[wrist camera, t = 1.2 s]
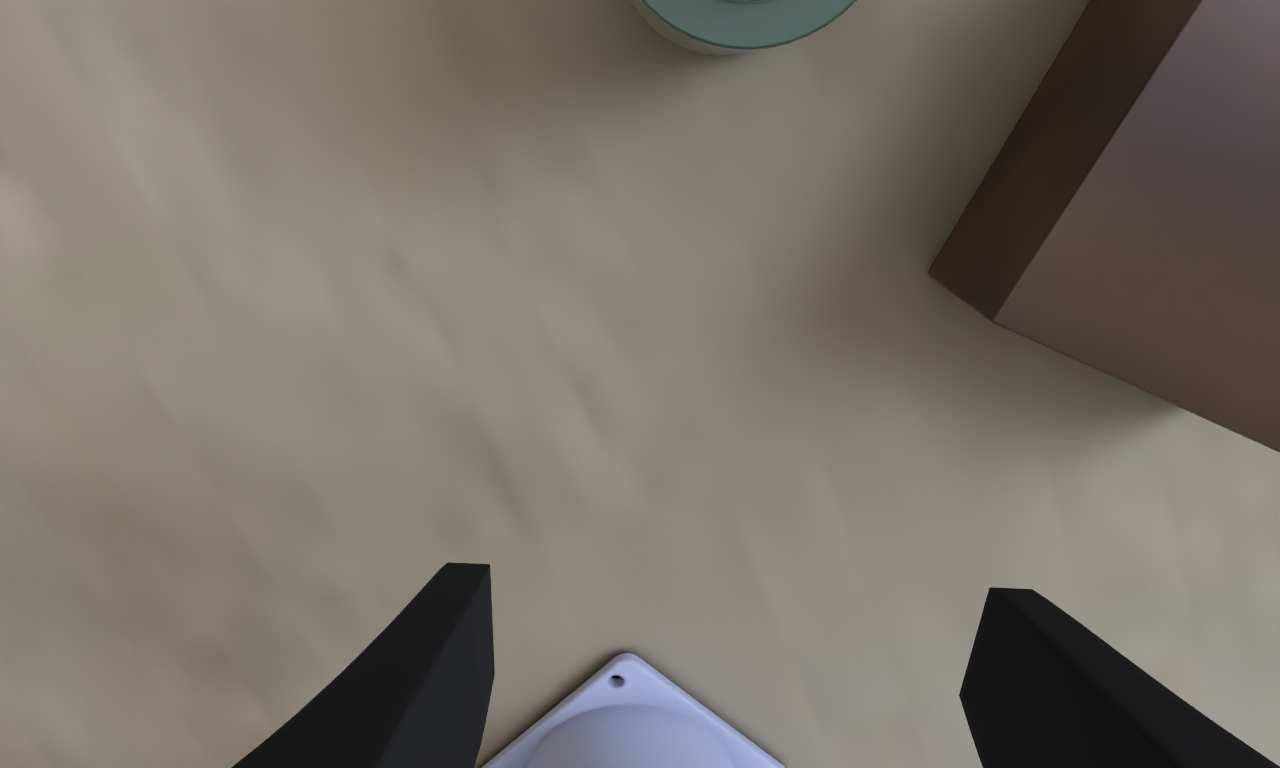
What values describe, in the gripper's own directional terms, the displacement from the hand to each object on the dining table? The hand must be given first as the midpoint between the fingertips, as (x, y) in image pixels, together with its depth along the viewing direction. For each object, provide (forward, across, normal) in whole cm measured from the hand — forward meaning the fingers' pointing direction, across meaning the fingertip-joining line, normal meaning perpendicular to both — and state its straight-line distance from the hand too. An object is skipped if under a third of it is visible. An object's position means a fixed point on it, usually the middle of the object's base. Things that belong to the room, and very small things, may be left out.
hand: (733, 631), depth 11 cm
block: (+10, -12, -5) cm, 17 cm away
